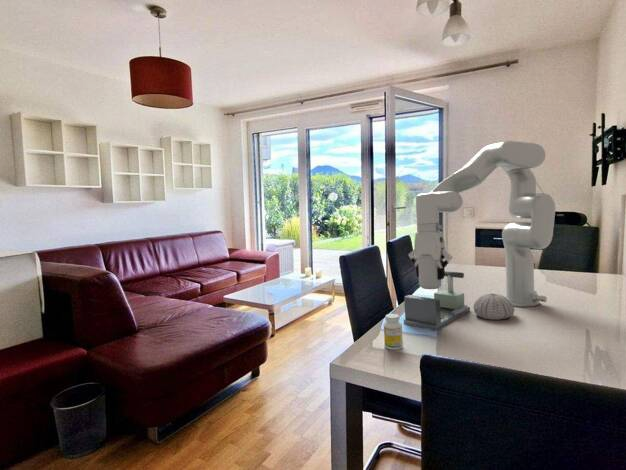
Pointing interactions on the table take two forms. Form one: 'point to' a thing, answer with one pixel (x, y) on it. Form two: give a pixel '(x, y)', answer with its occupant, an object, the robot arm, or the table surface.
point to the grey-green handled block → (450, 293)
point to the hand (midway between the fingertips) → (430, 277)
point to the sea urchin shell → (493, 307)
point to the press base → (443, 321)
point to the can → (428, 273)
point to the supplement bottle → (393, 332)
